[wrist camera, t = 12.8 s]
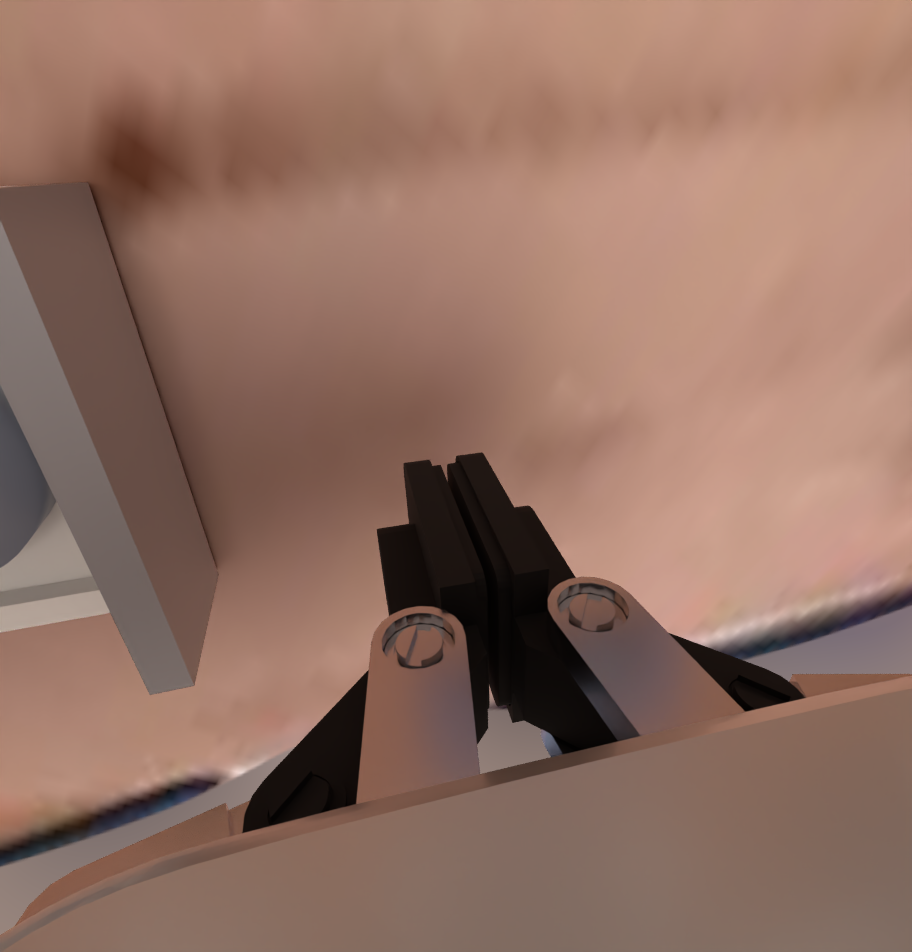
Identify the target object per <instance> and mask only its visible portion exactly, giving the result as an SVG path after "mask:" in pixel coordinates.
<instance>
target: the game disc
mask: <svg viewBox="0 0 912 952" xmlns="http://www.w3.org/2000/svg"><path fill="white" fill-rule="evenodd" d="M55 503H56V499H55V497H54V495H53V493H52V491H51V489H50V487H49V485H48V483H47V481H46V479H45V477H44V475H43V472H42V470H41V468H40V466H39V464H38V462H37V460H36V458H35V456H34V454H33V452H32V450H31V448H30V446H29V443H28V441H27V439H26V437H25V435H24V433H23V431H22V429H21V427H20V425H19V423H18V421H17V419H16V417H15V414H14V412H13V410H12V408H11V406H10V404H9V402H8V400H7V398H6V396H5V394H4V392H3V390H2V388H1V385H0V568H1V567H3V566H4V565H6V564H7V563H9V562H10V561H11V560H12V559H13V558H14V557H15V556H17V555H18V554H19V553H20V551H21V550H22V549H23V548H24V546H25V545H26V544H27V543H28V541H29V540H30V539H31V537H32V536H33V535H34V533H35V532H36V531H37V529H38V528H39V527H40V525H41V524H42V523H43V521H44V520H45V519H46V517H47V516H48V515H49V513H50V512H51V510H52V508H53V506H54V504H55Z"/></svg>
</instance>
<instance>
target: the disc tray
mask: <svg viewBox="0 0 912 952" xmlns="http://www.w3.org/2000/svg"><path fill="white" fill-rule="evenodd" d="M0 385H1V388H2V390H3V392H4V394H5V396H6V398H7V400H8V402H9V404H10V406H11V408H12V410H13V412H14V414H15V417H16V419H17V421H18V423H19V425H20V427H21V429H22V431H23V433H24V435H25V437H26V439H27V441H28V443H29V446H30V448H31V450H32V452H33V454H34V456H35V458H36V460H37V462H38V464H39V466H40V468H41V470H42V472H43V475H44V477H45V479H46V481H47V483H48V485H49V487H50V489H51V491H52V493H53V495H54V497H55V499H56V503H55V504H54V506H53V508H52V510H51V512H50V513H49V515H48V516H47V517H46V519H45V520H44V521H43V523H42V524H41V525H40V527H39V528H38V529H37V531H36V532H35V533H34V535H33V536H32V537H31V539H30V540H29V541H28V543H27V544H26V545H25V546H24V548H23V549H22V550H21V551H20V553H19V554H18V555H17V556H15V557H14V558H13V559H12V560H11V561H10V562H9V563H7V564H6V565H4V566H3V567H1V568H0V633H1V632H7V631H12V630H18V629H23V628H29V627H35V626H40V625H46V624H51V623H57V622H63V621H68V620H74V619H79V618H85V617H91V616H96V615H102V614H107V613H111V615H112V617H113V619H114V622H115V624H116V626H117V628H118V630H119V632H120V634H121V636H122V638H123V640H124V642H125V644H126V646H127V648H128V651H129V653H130V655H131V657H132V659H133V661H134V663H135V665H136V667H137V669H138V671H139V673H140V675H141V677H142V680H143V682H144V684H145V686H146V688H147V690H148V692H149V694H150V695H152V694H157V693H162V692H166V691H171V690H176V689H181V688H186V687H191V686H194V685H195V680H196V675H197V671H198V666H199V662H200V657H201V653H202V648H203V643H204V639H205V634H206V630H207V625H208V621H209V616H210V611H211V607H212V602H213V598H214V593H215V589H216V584H217V579H218V572H217V569H216V566H215V563H214V560H213V557H212V554H211V551H210V548H209V545H208V542H207V539H206V536H205V533H204V530H203V527H202V524H201V521H200V518H199V515H198V512H197V509H196V506H195V503H194V500H193V497H192V494H191V491H190V488H189V485H188V482H187V479H186V476H185V473H184V470H183V467H182V464H181V461H180V458H179V455H178V452H177V449H176V446H175V443H174V440H173V437H172V434H171V431H170V428H169V425H168V422H167V418H166V415H165V412H164V409H163V406H162V403H161V400H160V397H159V394H158V391H157V388H156V385H155V382H154V379H153V376H152V373H151V370H150V367H149V364H148V361H147V358H146V355H145V352H144V349H143V346H142V343H141V340H140V337H139V334H138V331H137V328H136V325H135V322H134V319H133V316H132V313H131V310H130V307H129V304H128V301H127V298H126V295H125V292H124V289H123V286H122V283H121V280H120V277H119V274H118V271H117V268H116V265H115V262H114V259H113V256H112V253H111V250H110V247H109V244H108V241H107V238H106V235H105V232H104V229H103V226H102V223H101V220H100V217H99V214H98V211H97V208H96V205H95V202H94V199H93V196H92V193H91V190H90V187H89V184H88V182H79V183H59V184H38V185H17V186H0Z"/></svg>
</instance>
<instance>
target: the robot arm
mask: <svg viewBox="0 0 912 952" xmlns="http://www.w3.org/2000/svg"><path fill="white" fill-rule="evenodd" d="M447 475H448V482H447V479H446V477H445V474H444V472H443V470H442V467H441V465H437V466H432V464H431V462H430V460H424V461H416V462H409V463H404V478H405V488H406V497H407V507H408V517H409V524H406V525H399V526H393V527H386V528H380V529H377V535H378V542H379V550H380V557H381V564H382V571H383V578H384V585H385V592H386V599H387V605H388V612H389V617H388V618H387V619H385V620H384V621H383V622H382V623H381V624H380V625H379V627H378V628H377V629H376V631H375V632H374V636H373V639H372V642H371V652H370V663H369V670H368V671H367V672H366V673H365V674H364V675H363V676H362V677H361V679H360V680H359V681H358V682H357V683H356V684H355V685H354V686H353V687H352V688H351V689H350V690H349V691H348V692H347V693H346V694H345V695H344V696H343V697H342V699H341V700H340V701H339V702H338V703H337V704H336V705H335V706H334V707H333V708H332V709H331V710H330V711H329V712H328V713H327V714H326V715H325V716H324V718H323V719H322V720H321V721H320V722H319V723H318V724H317V725H316V726H315V727H314V728H313V729H312V730H311V731H310V732H309V733H308V734H307V735H306V736H305V738H304V739H303V740H302V741H301V742H300V743H299V744H298V745H297V746H296V747H295V748H294V749H293V750H292V751H291V752H290V753H289V754H288V756H287V757H286V758H285V759H284V760H283V761H282V762H281V763H280V764H279V765H278V766H277V767H276V768H275V769H274V770H273V771H272V772H271V773H270V774H269V775H268V777H267V778H266V779H265V780H264V781H263V782H262V784H261V785H260V786H259V788H258V789H257V790H256V792H255V793H254V794H253V796H252V798H251V800H250V801H248V802H246V803H244V804H241V805H239V806H237V807H234V808H232V809H230V810H229V809H228V807H227V805H226V803H224V804H222V805H220V806H218V807H215V808H213V809H211V810H209V811H206V812H204V813H202V814H200V815H197V816H195V817H193V818H191V819H188V820H186V821H184V822H182V823H179V824H177V825H175V826H173V827H170V828H168V829H166V830H164V831H162V832H159V833H157V834H155V835H153V836H150V837H148V838H146V839H144V840H141V841H139V842H137V843H135V844H132V845H130V846H128V847H126V848H124V849H121V850H119V851H117V852H114V853H112V854H110V855H108V856H105V857H103V858H101V859H99V860H96V861H94V862H92V863H90V864H88V865H86V866H83V867H81V868H79V869H76V870H74V871H72V872H71V873H69V874H67V875H66V876H64V877H62V878H61V879H59V880H58V881H56V882H55V883H52V884H51V885H50V886H49V887H48V888H47V889H45V891H43V893H41V894H40V895H39V896H38V897H37V898H36V899H35V900H34V901H33V902H32V903H31V904H30V905H29V906H28V907H27V909H26V910H25V912H24V913H23V915H22V916H21V918H20V919H19V921H18V922H17V924H16V925H15V926H14V927H13V928H11V929H9V930H8V931H6V932H5V933H3V934H1V935H0V952H912V674H792V677H791V679H790V682H788V681H787V680H785V679H784V678H783V677H781V676H779V675H777V674H775V673H773V672H771V671H769V670H767V669H765V668H762V667H759V666H756V665H754V664H751V663H748V662H746V661H743V660H740V659H738V658H735V657H732V656H730V655H727V654H724V653H721V652H719V651H716V650H713V649H711V648H708V647H705V646H702V645H700V644H697V643H694V642H692V641H689V640H686V639H683V638H681V637H678V636H675V635H673V634H670V633H668V632H667V631H666V630H665V629H664V628H663V627H662V626H661V625H660V624H659V623H658V622H657V621H656V620H655V619H654V618H653V617H652V616H651V615H650V614H649V613H648V612H647V611H646V610H645V609H644V608H643V607H642V606H641V605H640V603H639V602H638V601H637V600H636V599H635V598H634V597H633V596H632V595H631V594H630V593H628V592H627V591H626V590H624V589H623V588H622V587H621V586H619V585H617V584H614V583H612V582H610V581H608V580H604V579H600V578H595V577H578V578H576V577H575V576H574V574H573V573H572V571H571V569H570V568H569V566H568V565H567V563H566V561H565V560H564V558H563V557H562V555H561V553H560V552H559V550H558V549H557V547H556V545H555V544H554V542H553V541H552V539H551V537H550V536H549V534H548V533H547V531H546V529H545V528H544V526H543V525H542V523H541V521H540V520H539V518H538V517H537V515H536V513H535V512H534V510H533V509H532V508H531V507H530V506H522V507H515V508H514V506H513V505H512V503H511V501H510V499H509V498H508V496H507V494H506V492H505V491H504V489H503V487H502V485H501V484H500V482H499V480H498V478H497V477H496V475H495V473H494V471H493V470H492V468H491V466H490V464H489V463H488V461H487V459H486V457H485V456H484V454H483V453H475V454H468V455H460V456H456V463H451V464H448V465H447ZM489 685H490V688H491V691H492V694H493V697H494V700H495V703H496V705H497V706H503V705H507V708H508V711H509V714H510V717H511V720H512V722H513V723H514V722H519V721H523V720H524V721H526V722H529V723H530V724H532V725H534V726H536V727H538V728H540V729H541V737H542V740H543V743H544V745H545V748H546V749H547V751H548V753H549V755H550V756H551V757H550V758H546V759H542V760H538V761H534V762H529V763H525V764H521V765H517V766H513V767H508V768H504V769H500V770H496V771H492V772H487V773H483V774H480V768H479V759H478V749H477V744H478V743H479V741H480V740H481V738H482V737H483V735H484V734H485V732H486V730H487V729H488V709H489Z"/></svg>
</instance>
